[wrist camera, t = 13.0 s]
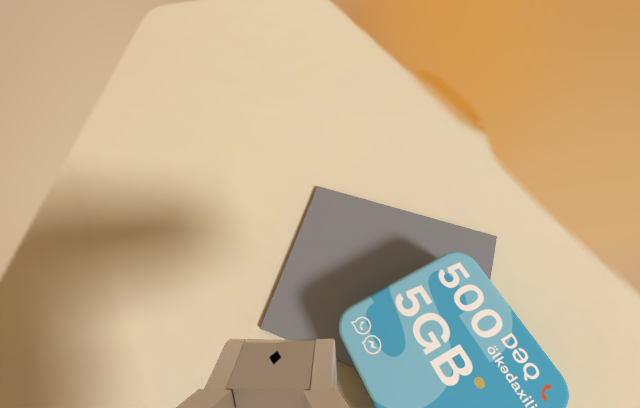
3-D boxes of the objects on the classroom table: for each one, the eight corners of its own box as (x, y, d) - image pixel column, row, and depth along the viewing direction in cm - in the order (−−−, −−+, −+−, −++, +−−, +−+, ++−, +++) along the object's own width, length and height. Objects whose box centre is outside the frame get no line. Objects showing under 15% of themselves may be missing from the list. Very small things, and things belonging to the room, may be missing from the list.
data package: (330, 316, 24) (463, 243, 25) (334, 321, 28) (448, 257, 29) (423, 504, 19) (582, 401, 20) (411, 477, 23) (544, 392, 24)
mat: (467, 412, 25) (468, 413, 24) (261, 328, 29) (259, 328, 28) (495, 237, 30) (496, 236, 30) (317, 187, 34) (317, 186, 34)
